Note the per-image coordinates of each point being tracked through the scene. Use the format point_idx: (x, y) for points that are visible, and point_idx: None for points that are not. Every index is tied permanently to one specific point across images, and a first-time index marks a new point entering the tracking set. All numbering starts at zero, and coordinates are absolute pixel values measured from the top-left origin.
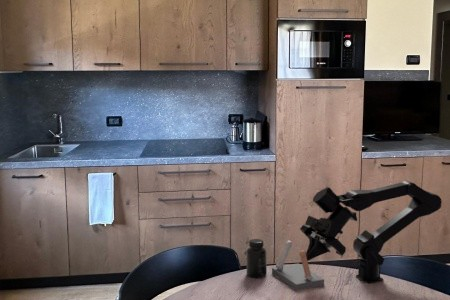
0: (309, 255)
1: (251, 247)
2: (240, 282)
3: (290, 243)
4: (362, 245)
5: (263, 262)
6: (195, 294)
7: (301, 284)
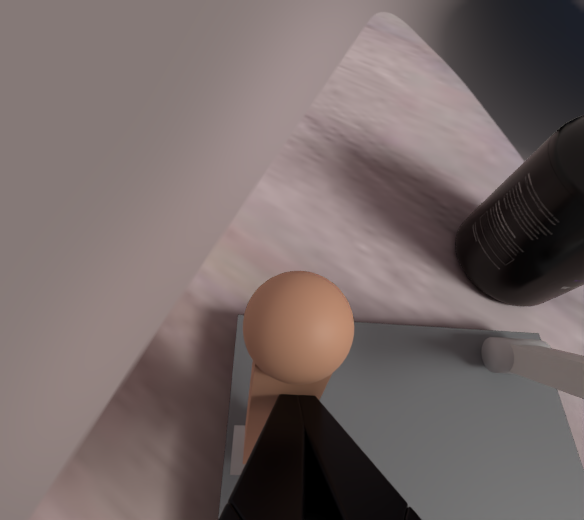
0: (257, 444)
1: None
2: (427, 164)
3: None
4: None
5: (519, 221)
6: (369, 32)
7: (234, 358)
